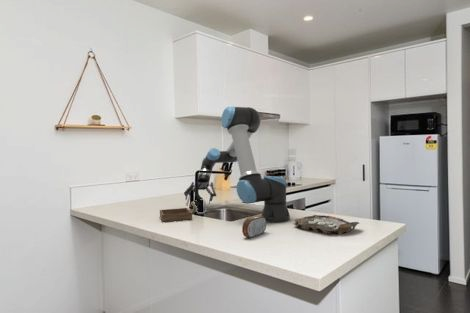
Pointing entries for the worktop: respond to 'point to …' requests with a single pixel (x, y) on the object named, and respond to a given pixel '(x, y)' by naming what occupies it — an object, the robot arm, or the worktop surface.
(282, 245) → the worktop surface
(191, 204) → the ceramic mug
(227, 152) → the robot arm
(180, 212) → the walnut box
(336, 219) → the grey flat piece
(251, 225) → the tin
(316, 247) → the worktop surface
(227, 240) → the worktop surface
